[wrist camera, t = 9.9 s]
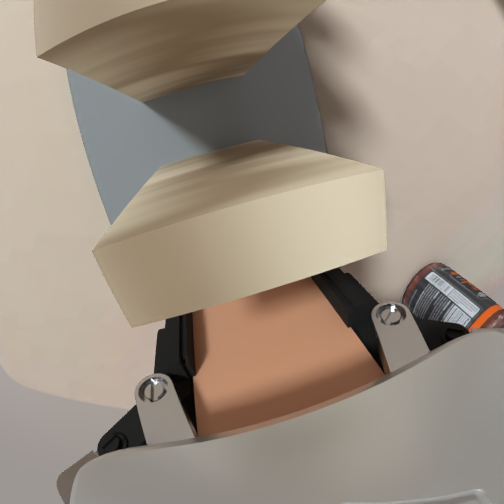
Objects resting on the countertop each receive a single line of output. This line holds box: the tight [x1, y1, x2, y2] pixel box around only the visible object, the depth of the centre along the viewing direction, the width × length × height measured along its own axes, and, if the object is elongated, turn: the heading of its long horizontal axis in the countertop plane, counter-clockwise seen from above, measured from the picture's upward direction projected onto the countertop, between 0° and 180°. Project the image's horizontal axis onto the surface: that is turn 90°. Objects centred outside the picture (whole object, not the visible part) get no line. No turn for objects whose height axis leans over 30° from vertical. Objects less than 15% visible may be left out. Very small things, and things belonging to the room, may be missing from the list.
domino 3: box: [192, 277, 385, 437], centre depth 10 cm, size 5×2×10 cm, turn 103°
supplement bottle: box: [403, 263, 504, 331], centre depth 17 cm, size 6×6×11 cm
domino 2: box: [92, 140, 387, 328], centre depth 9 cm, size 5×2×10 cm, turn 103°
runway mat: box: [66, 24, 327, 225], centre depth 12 cm, size 12×24×1 cm, turn 13°
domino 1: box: [34, 0, 326, 103], centre depth 7 cm, size 5×2×10 cm, turn 103°
